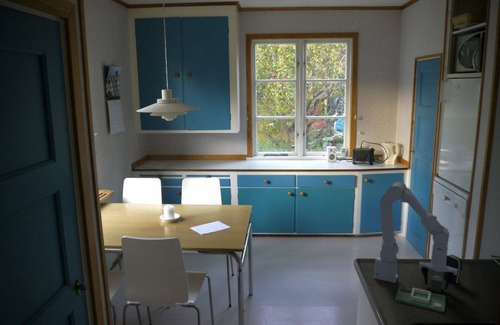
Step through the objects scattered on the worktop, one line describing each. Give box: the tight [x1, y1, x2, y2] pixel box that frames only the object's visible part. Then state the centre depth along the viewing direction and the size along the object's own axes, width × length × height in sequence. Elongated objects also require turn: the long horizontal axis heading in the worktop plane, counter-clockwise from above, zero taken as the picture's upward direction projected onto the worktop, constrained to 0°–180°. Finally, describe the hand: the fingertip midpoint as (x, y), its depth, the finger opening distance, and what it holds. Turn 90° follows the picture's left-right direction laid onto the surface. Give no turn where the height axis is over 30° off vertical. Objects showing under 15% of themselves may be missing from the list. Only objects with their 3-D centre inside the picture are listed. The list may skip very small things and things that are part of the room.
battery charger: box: [443, 254, 464, 284], centre depth 176 cm, size 7×4×11 cm, turn 23°
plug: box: [430, 275, 443, 293], centre depth 169 cm, size 4×5×5 cm
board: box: [394, 285, 447, 314], centre depth 161 cm, size 18×12×2 cm, turn 62°
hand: (436, 286), depth 169 cm, fingers open, 7 cm apart
